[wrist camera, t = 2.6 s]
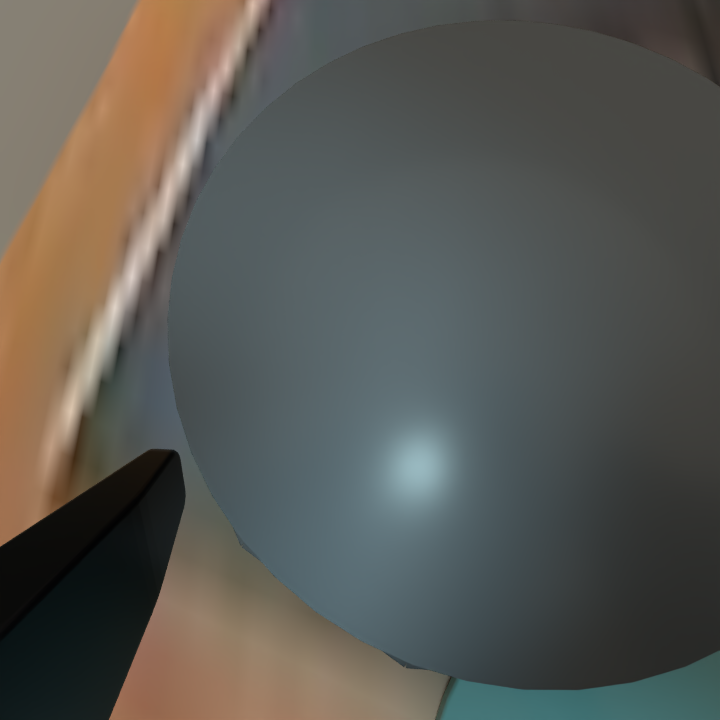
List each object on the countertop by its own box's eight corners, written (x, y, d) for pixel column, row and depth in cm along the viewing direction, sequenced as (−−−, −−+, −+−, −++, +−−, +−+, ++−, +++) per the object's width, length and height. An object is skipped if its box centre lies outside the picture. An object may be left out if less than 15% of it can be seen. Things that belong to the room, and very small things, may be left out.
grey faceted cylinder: (583, 422, 18) (984, 207, 6) (461, 635, 17) (696, 894, 5) (386, 302, 20) (410, -64, 8) (255, 487, 18) (19, 391, 6)
